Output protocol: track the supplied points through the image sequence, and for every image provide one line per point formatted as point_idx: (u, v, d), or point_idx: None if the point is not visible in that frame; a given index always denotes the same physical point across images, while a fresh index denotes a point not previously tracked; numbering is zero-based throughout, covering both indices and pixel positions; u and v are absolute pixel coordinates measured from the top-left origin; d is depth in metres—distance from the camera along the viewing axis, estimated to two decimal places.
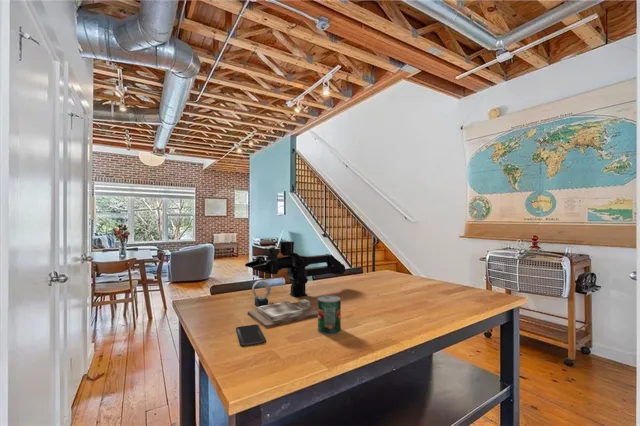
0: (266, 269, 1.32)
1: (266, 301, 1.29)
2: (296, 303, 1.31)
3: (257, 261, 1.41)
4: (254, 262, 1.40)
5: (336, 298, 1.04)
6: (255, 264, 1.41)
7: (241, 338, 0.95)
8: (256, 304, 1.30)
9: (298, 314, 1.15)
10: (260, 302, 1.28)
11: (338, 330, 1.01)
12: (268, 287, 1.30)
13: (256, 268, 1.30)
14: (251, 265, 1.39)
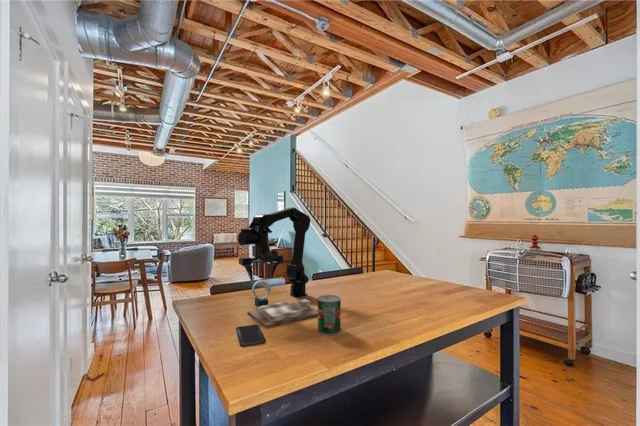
0: None
1: (266, 301, 1.29)
2: (296, 303, 1.31)
3: None
4: None
5: (336, 298, 1.04)
6: None
7: (241, 338, 0.95)
8: (256, 304, 1.30)
9: (298, 314, 1.15)
10: (260, 302, 1.28)
11: (338, 330, 1.01)
12: (268, 287, 1.30)
13: None
14: None
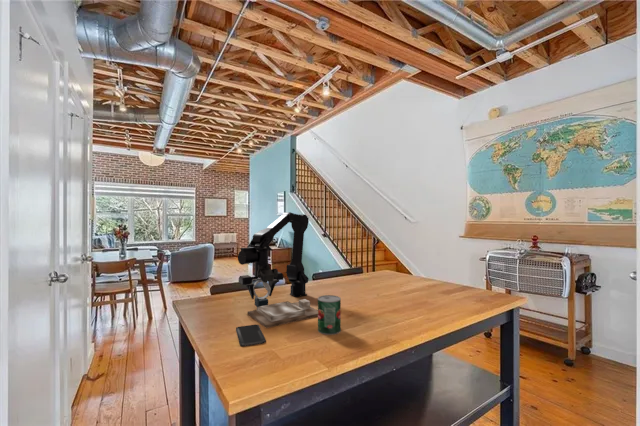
0: None
1: (266, 301, 1.29)
2: (296, 303, 1.31)
3: None
4: None
5: (336, 298, 1.04)
6: None
7: (241, 338, 0.95)
8: (256, 304, 1.30)
9: (298, 314, 1.15)
10: (260, 302, 1.28)
11: (338, 330, 1.01)
12: (268, 287, 1.30)
13: None
14: None
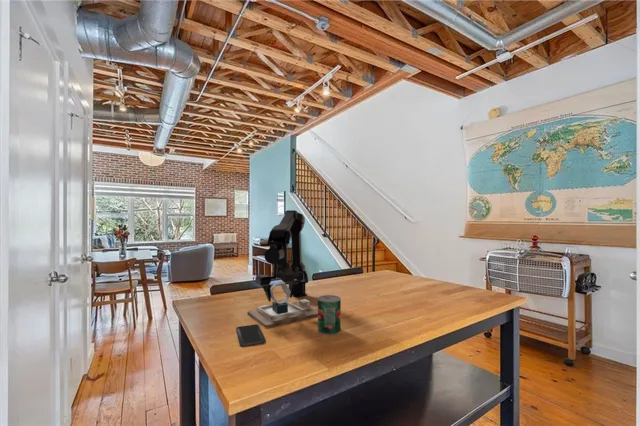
0: None
1: (285, 306, 1.16)
2: (296, 303, 1.31)
3: None
4: None
5: (336, 298, 1.04)
6: None
7: (241, 338, 0.95)
8: (274, 309, 1.17)
9: (298, 314, 1.15)
10: (279, 307, 1.15)
11: (338, 330, 1.01)
12: (288, 290, 1.17)
13: None
14: None
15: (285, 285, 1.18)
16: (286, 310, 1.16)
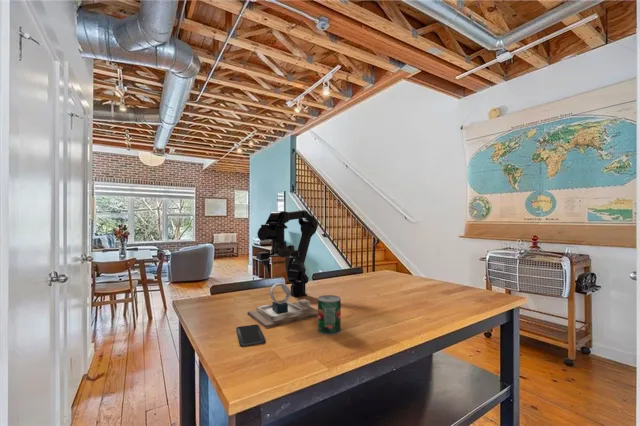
0: None
1: (285, 306, 1.16)
2: (296, 303, 1.31)
3: None
4: None
5: (336, 298, 1.04)
6: None
7: (241, 338, 0.95)
8: (274, 309, 1.17)
9: (298, 314, 1.15)
10: (279, 307, 1.15)
11: (338, 330, 1.01)
12: (288, 290, 1.17)
13: None
14: None
15: (285, 285, 1.17)
16: (286, 310, 1.16)
